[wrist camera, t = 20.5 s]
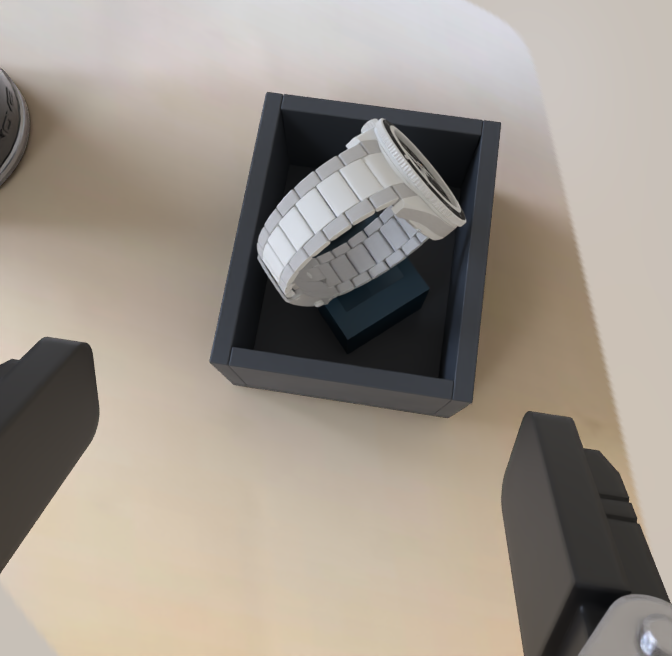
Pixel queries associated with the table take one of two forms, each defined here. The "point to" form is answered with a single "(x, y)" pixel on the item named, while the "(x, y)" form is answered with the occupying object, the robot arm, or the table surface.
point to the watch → (359, 234)
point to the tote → (429, 259)
